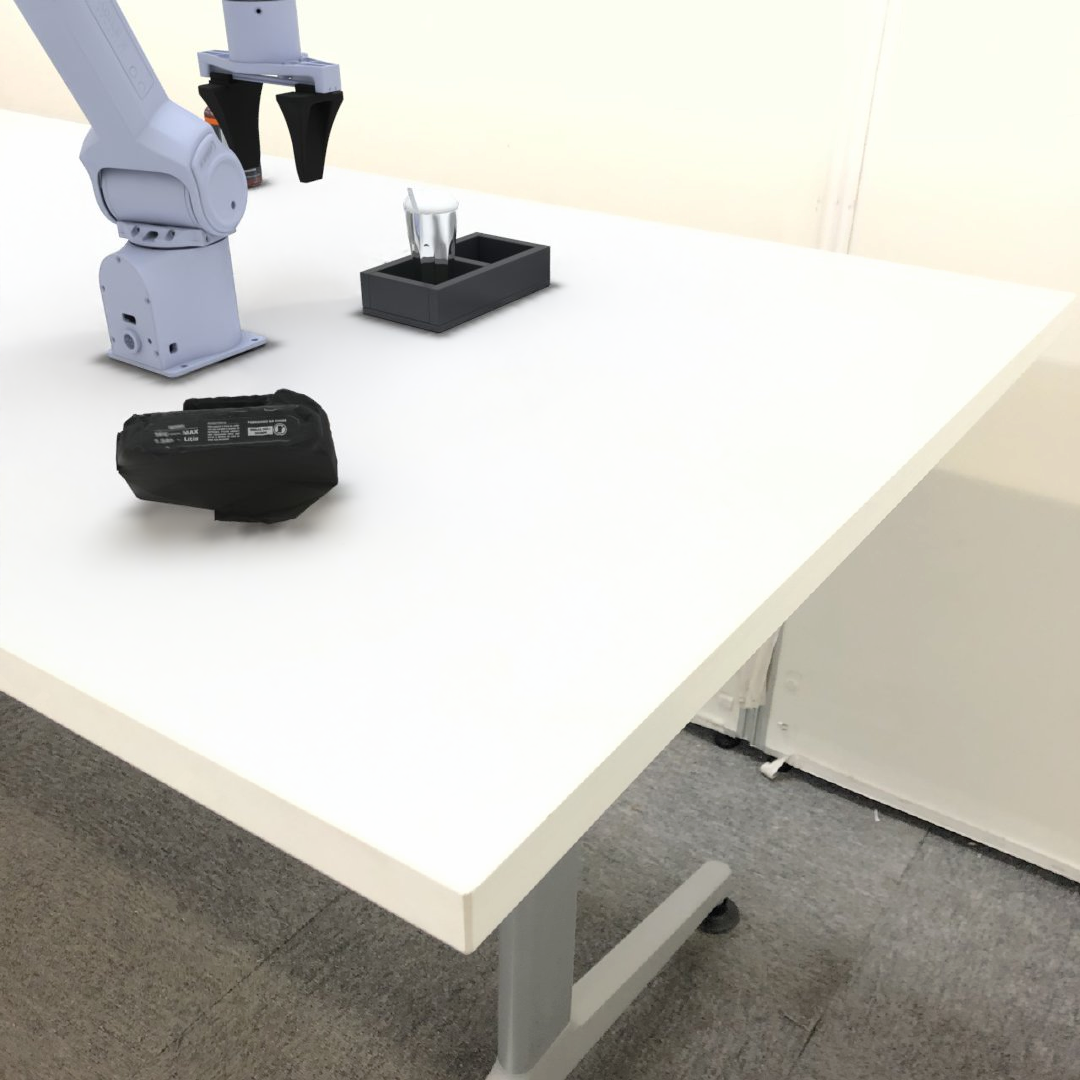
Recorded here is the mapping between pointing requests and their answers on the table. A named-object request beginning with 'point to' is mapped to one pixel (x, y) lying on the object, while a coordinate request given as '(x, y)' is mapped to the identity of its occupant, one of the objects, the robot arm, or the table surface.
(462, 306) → the dark grey divided tray
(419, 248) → the milkshake
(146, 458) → the battery
